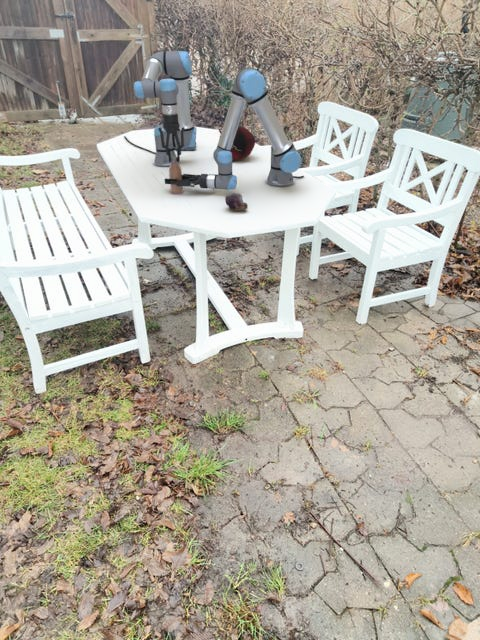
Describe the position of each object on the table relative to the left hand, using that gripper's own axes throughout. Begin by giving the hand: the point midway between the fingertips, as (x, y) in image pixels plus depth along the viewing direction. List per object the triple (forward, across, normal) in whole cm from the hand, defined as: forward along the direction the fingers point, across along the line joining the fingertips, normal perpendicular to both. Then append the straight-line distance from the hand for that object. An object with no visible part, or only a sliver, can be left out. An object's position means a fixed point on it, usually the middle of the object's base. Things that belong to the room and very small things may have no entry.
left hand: (174, 161), depth 239 cm
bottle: (+17, 0, 0) cm, 17 cm away
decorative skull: (+17, +31, +67) cm, 76 cm away
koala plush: (+16, -8, +95) cm, 97 cm away
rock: (+17, +33, -28) cm, 46 cm away
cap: (-2, 0, 0) cm, 2 cm away
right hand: (+10, -5, +1) cm, 11 cm away
